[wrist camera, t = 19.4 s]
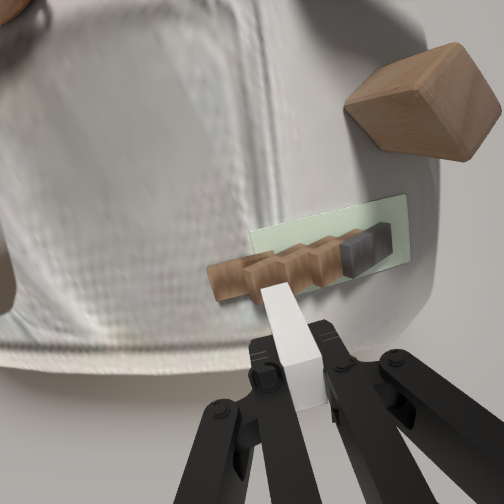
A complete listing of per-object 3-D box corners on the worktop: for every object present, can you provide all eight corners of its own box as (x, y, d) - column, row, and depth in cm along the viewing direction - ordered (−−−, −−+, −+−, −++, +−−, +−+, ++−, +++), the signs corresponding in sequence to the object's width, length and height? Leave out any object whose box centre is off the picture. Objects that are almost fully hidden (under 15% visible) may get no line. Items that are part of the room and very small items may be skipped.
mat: (249, 231, 46) (249, 232, 46) (404, 193, 47) (406, 194, 46) (266, 302, 50) (267, 303, 50) (409, 260, 51) (410, 261, 50)
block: (338, 106, 41) (415, 88, 23) (377, 66, 40) (460, 37, 21) (382, 153, 44) (469, 167, 25) (417, 113, 42) (507, 111, 24)
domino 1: (299, 243, 47) (242, 269, 43) (307, 245, 46) (249, 272, 41) (304, 272, 49) (251, 300, 45) (313, 276, 47) (258, 305, 43)
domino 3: (355, 228, 47) (307, 252, 43) (364, 230, 46) (317, 255, 41) (358, 257, 49) (313, 284, 45) (367, 260, 47) (322, 288, 43)
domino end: (272, 249, 47) (207, 266, 47) (274, 254, 45) (206, 271, 45) (279, 279, 49) (216, 295, 49) (281, 285, 47) (216, 301, 47)
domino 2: (328, 235, 47) (275, 260, 43) (337, 237, 46) (284, 263, 41) (332, 265, 49) (282, 292, 45) (341, 267, 47) (291, 296, 43)
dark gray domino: (380, 221, 47) (339, 244, 43) (390, 223, 46) (349, 246, 41) (383, 250, 49) (343, 275, 45) (392, 252, 47) (353, 279, 43)
